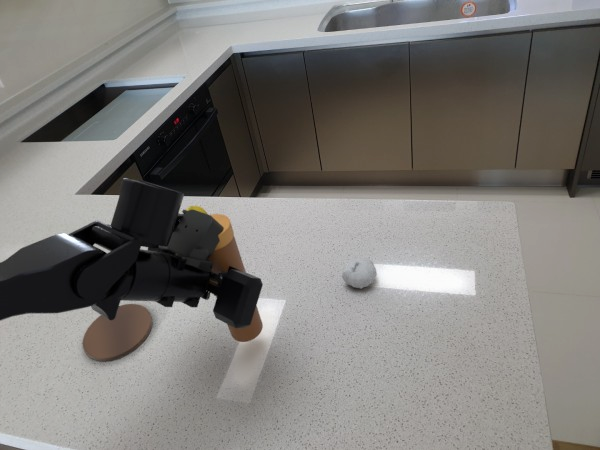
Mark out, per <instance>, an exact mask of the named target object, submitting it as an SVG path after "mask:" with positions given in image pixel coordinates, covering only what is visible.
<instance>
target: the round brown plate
mask: <svg viewBox="0 0 600 450" xmlns="http://www.w3.org/2000/svg"><path fill="white" fill-rule="evenodd" d="M152 327H153V316H152V314H151V312H150V311H149V309H147V307H146V306H144V305H142V304H138V303H125V304H121V305H120V304H119V307H118V310H117V314H116V317H115V319H114V320H108V319H107V318H105V317H104V316H102V315H101V314H99V316H97V318H96V319H94V320H93V321H92V322H91V323H90V325H89V327H87V329H86V331H85V333H84V334H83V337H82V348H83V350H84V353H85V354H86V356H88V357H89V358H90V359H92V360H94V361H98V362H111V361H115V360H118V359H121V358H123V357H125V356H127V355H129V354H131V353H132V352H133V351H135V350H136V349H138V348H139V347H140V346H141V345H142V344H143V343H144V342H145V341H146V339H147V338H148V336H149V335H150V333H151V331H152Z"/></svg>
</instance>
